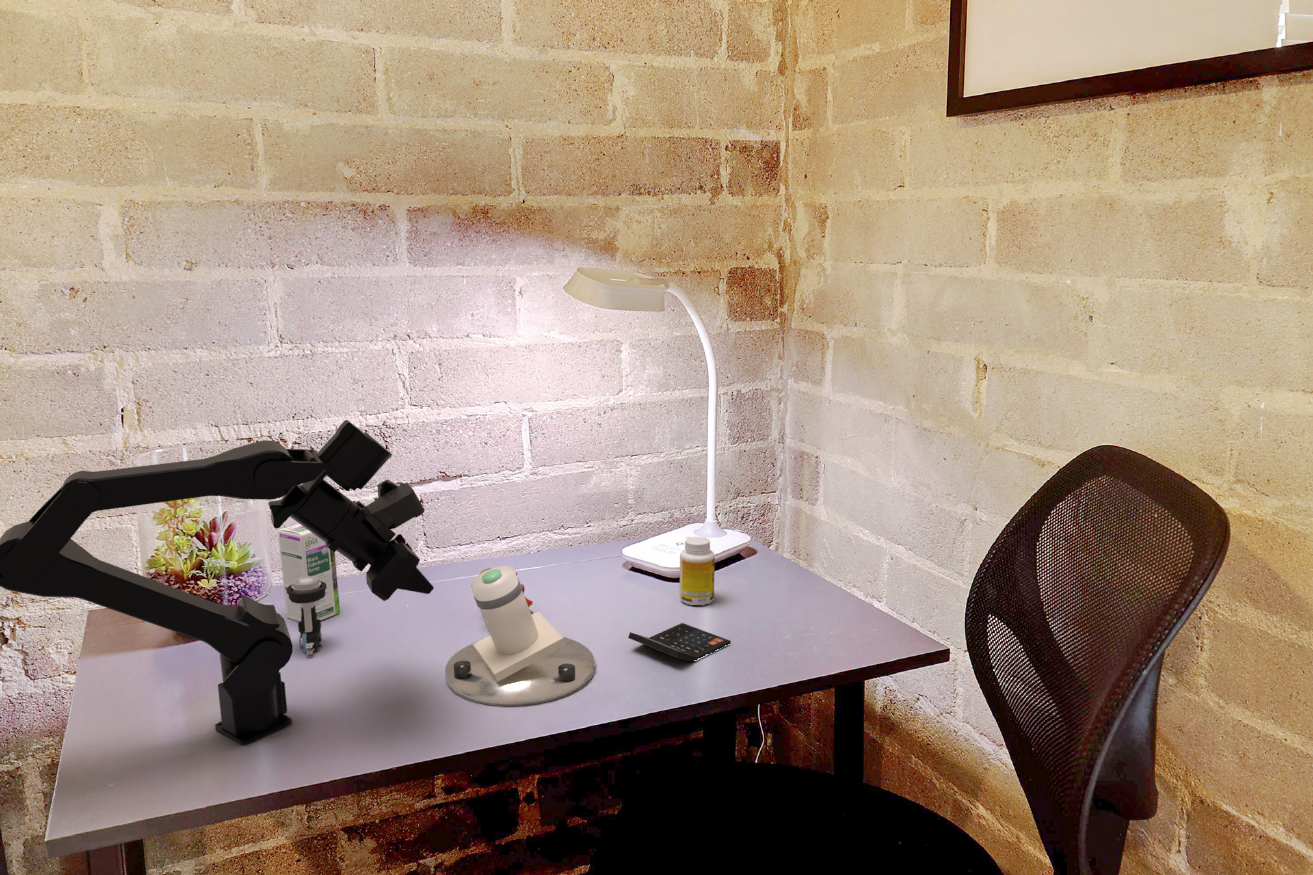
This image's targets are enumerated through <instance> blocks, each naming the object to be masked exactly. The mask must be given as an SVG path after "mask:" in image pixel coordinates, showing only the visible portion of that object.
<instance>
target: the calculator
mask: <svg viewBox="0 0 1313 875" xmlns="http://www.w3.org/2000/svg"><path fill="white" fill-rule="evenodd" d="M627 638H628V639H629V640H632V641H635V642H637V643H639V644H642V645H645V646H647V647H650V648H652V649H654V650H656V651H659V652H662V653H664V654H667V655H670V656H671V657H674V658H676V659H681V660H684V661H688V662H691V663H694V662H693V661H694V660H697V659H698V658H701V657H703V656H705V655H706V654H710V653H711V652H714V651H715V650H717V649H720V648H722V647H724V646H725V645H728V644H730V643H731V642H732V641H731V640H729V639H727V638H724V637H722V636H719V635H716V634H714V633H711V632H708V631H706V630H703V629H700V628H699V627H698V628H697V627H694V626H691V625H690V624H686V623H684V622H681V623H679V624H677V625H674V626H672V627H670V628H667V629H665V630H663V631H661V632H659V633H657V634H654V635H652V636H650V637H648V636H647V637H646V636H643V635H640V634H638V633H633V632H631V631H630V632H629V634H628V636H627ZM731 644H732V643H731ZM710 655H711V654H710Z"/></svg>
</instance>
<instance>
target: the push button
mask: <svg viewBox="0 0 1313 875" xmlns="http://www.w3.org/2000/svg"><path fill="white" fill-rule="evenodd" d="M326 588H327V587H326V583H325V582H322V581H319V578H318V577H315V576H305V577H300V578H297V579H295V580H294V581H293V584H292V585H290V586H289V587H287V589H286V591H287V594H289V599H290V600H291V602H293V603H296V604H299V605H302V607H301V614H302V616H301V621H300V622H298V623H297V627H298V632H299V634H300V635H299V636H298V640H299V648H301V647H302V648H303V653H304V654H306V655H313V653H316V652H317V651H318V646H319V644H320V645H321V646H323V634H322V632H321V629H322V622H321V621H322V620H320V619H317V613H316V609H315V605H314V603H316V602H318V601H319V600H320V599H322V598H324V596H325V589H326ZM301 639H302V640H301ZM320 642H321V643H320Z"/></svg>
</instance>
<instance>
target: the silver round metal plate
mask: <svg viewBox="0 0 1313 875" xmlns="http://www.w3.org/2000/svg"><path fill="white" fill-rule="evenodd" d="M562 637H563V638H564V640H565V643H566V646H564V647H562V648H560V649H559V650H557V651H555V652H553V653H551V654H549V655H547V656H545V657H543V658H542V659H540V660H538V661H536V662H534V663H532V664H530V665H528V666H526V667H525V668H523V669H521V670H519V671H517V672H515V673H513V674H511V675H509V676H508V677H506V678H504V679H502V680H500V681H498V682H497V680H496V679H495V677H494V676H493V675H492V673H491V672H490V670H489V669H488V668H487V666H486V665H485V664H484V662H483V661H482V659H481V658H480V657H479V655H478V654H477V652H476V651H475V648H474V646H473V644H475V643H477V642H478V641H475V642H473V643H471V644H469V645H466V646H464V647H462V648H461V649H459V650H458V651H457V652H455V653H454V654H453V655H451V657H450V658H449V659H448V661H447V663H446V665H445V669H444V673H445V674H444V675H445V683H446V684H447V686H448V688H449V689H450V690H451V691H452V693H454V694H456V695H458V696H459V697H460V698H463V699H465V700H467V701H471V702H473V703H477V704H482V705H485V704H486V706H487V705H488V706H493V707H526V706H533V705H535V706H536V705H540V704H541V705H542V704H546V703H550V702H554V701H557V700H559V699H563V698H566V697H568V696H570V695H572V694H574V693H576V692H578V691H579V690H581V689H582V688H584V687H585V686H586V685H587V684H588V683H590V681H591V680H592V677H593V676H594V674H593V673H595V669H596V667H595V666H596V664H595V657H594V655H593V653H592V651H590V649H589V648H588V647H587V646H585V645H584V644H582V643H580V642H579V641H576V640H574V639H572V638H568V637H565V636H562ZM594 668H595V669H594ZM567 695H568V696H567ZM549 701H550V702H549Z"/></svg>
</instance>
